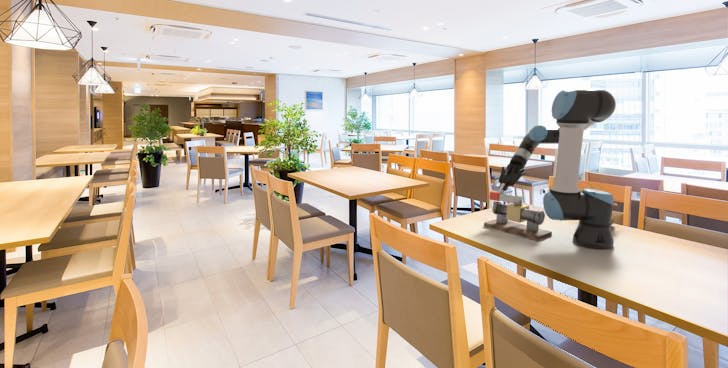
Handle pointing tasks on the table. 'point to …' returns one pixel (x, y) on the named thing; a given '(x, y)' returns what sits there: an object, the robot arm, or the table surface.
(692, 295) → the table surface
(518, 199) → the valve lever
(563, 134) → the robot arm
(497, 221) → the pipe and valve body
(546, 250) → the table surface
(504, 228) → the walnut base board
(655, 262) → the table surface
